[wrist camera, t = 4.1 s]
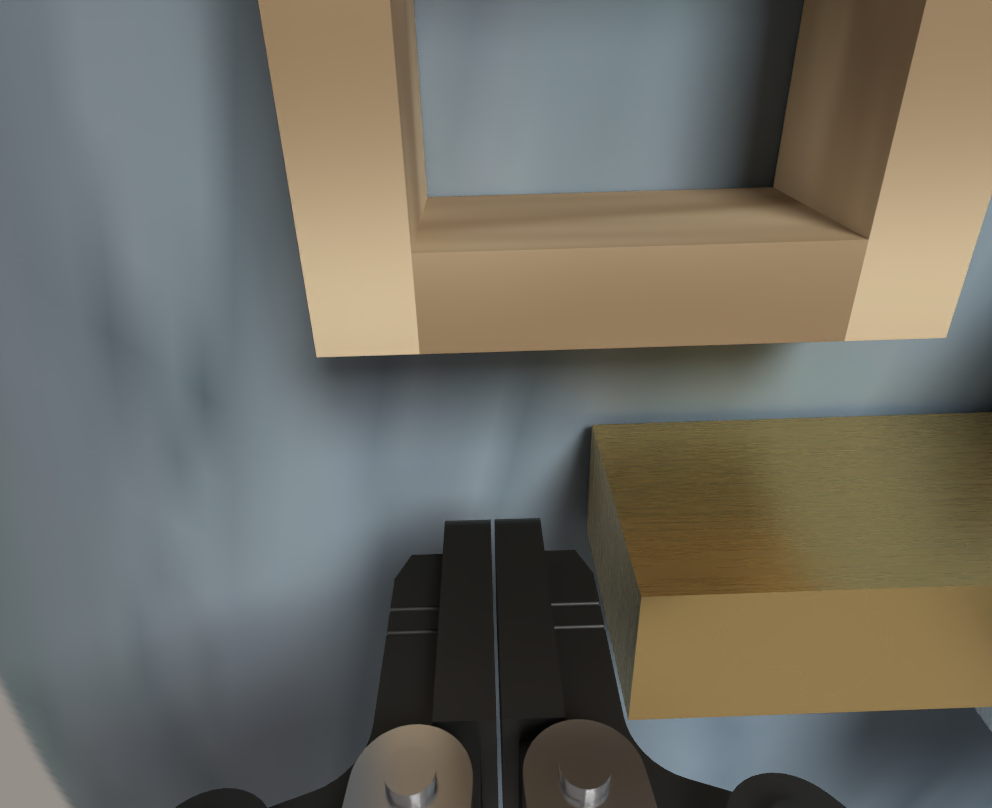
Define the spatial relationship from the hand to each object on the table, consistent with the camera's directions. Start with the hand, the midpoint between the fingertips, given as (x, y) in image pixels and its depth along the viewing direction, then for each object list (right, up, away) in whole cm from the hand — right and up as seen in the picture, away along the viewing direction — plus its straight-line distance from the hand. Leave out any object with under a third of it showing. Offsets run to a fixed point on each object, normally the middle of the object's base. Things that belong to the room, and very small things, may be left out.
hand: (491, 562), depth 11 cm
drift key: (+6, +1, +2) cm, 7 cm away
